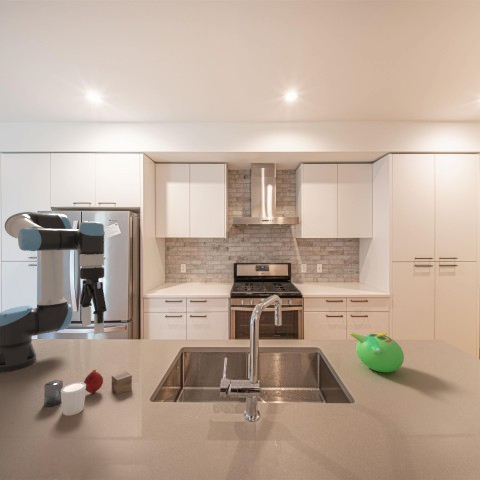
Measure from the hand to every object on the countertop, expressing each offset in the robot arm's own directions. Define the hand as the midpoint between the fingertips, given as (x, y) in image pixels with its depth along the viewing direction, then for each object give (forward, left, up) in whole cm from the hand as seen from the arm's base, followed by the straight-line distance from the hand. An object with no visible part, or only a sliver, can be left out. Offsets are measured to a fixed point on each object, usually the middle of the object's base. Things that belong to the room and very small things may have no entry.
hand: (92, 329), depth 98 cm
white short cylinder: (+7, -8, -22) cm, 24 cm away
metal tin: (-2, -11, -22) cm, 24 cm away
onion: (+1, 0, -22) cm, 22 cm away
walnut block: (+5, +8, -22) cm, 24 cm away
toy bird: (+62, +89, -22) cm, 111 cm away
